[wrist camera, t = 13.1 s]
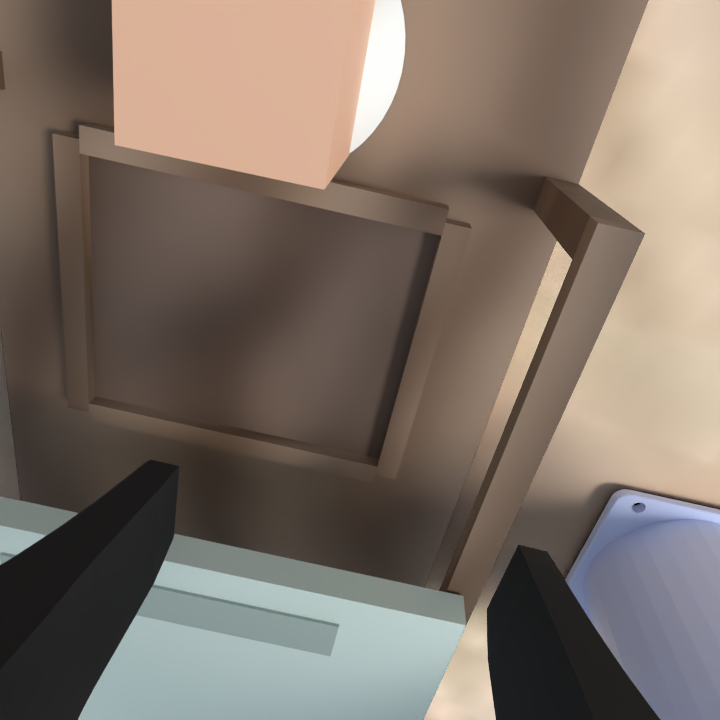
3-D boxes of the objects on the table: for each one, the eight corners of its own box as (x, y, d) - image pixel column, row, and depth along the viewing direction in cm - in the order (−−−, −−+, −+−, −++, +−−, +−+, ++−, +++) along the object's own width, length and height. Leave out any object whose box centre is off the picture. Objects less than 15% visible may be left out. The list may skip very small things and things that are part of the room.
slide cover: (463, 596, 17) (466, 628, 16) (388, 767, 22) (387, 800, 21) (-97, 475, 17) (-129, 500, 16) (-48, 675, 21) (-70, 704, 20)
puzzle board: (646, -27, 15) (789, -83, 9) (389, 662, 29) (382, 808, 23) (-33, -189, 14) (-323, -351, 9) (44, 589, 29) (-47, 718, 23)
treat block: (380, -30, 14) (365, -71, 10) (349, 155, 16) (324, 189, 12) (204, -68, 14) (109, -128, 10) (196, 122, 16) (114, 144, 12)
